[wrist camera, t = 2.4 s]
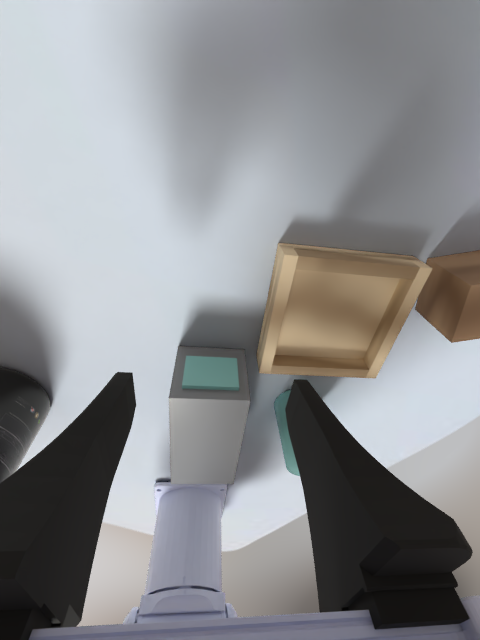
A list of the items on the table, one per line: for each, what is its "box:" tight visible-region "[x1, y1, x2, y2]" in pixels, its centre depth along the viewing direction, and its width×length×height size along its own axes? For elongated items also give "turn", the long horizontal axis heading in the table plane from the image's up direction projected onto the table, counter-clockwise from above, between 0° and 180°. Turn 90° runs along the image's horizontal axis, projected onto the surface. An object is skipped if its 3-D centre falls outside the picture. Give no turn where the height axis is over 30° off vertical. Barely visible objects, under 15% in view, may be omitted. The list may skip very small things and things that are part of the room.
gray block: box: [169, 346, 251, 484], centre depth 22 cm, size 10×5×5 cm, turn 173°
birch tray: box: [256, 243, 432, 378], centre depth 20 cm, size 9×9×2 cm
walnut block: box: [415, 250, 480, 343], centre depth 18 cm, size 4×4×4 cm
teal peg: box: [274, 390, 300, 476], centre depth 24 cm, size 4×4×6 cm
